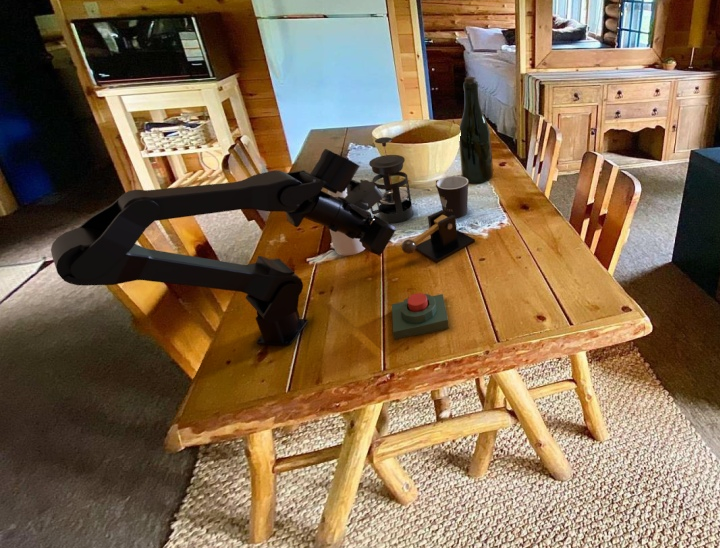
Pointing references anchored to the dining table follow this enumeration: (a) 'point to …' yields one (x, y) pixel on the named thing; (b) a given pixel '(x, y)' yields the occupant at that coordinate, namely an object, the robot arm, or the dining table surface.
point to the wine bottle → (474, 138)
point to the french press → (391, 187)
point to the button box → (419, 318)
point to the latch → (421, 237)
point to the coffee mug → (453, 195)
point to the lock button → (417, 302)
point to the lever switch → (443, 239)
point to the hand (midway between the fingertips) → (389, 237)
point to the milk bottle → (344, 237)
